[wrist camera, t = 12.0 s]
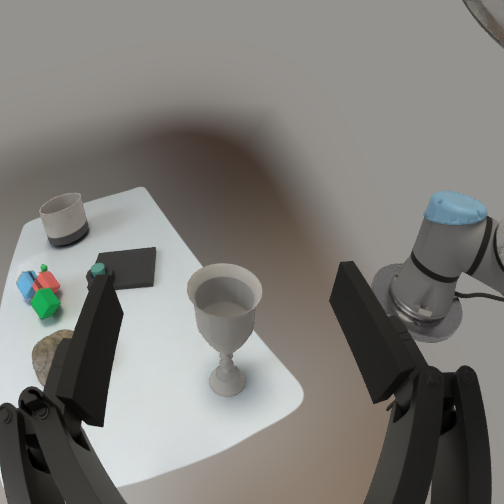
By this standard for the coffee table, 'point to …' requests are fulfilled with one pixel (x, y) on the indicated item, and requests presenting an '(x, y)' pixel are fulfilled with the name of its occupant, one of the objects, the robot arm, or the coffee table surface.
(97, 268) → the button
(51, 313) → the building blocks
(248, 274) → the chalice
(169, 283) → the coffee table surface
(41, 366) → the fossilized seashell
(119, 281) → the scale
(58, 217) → the planter
